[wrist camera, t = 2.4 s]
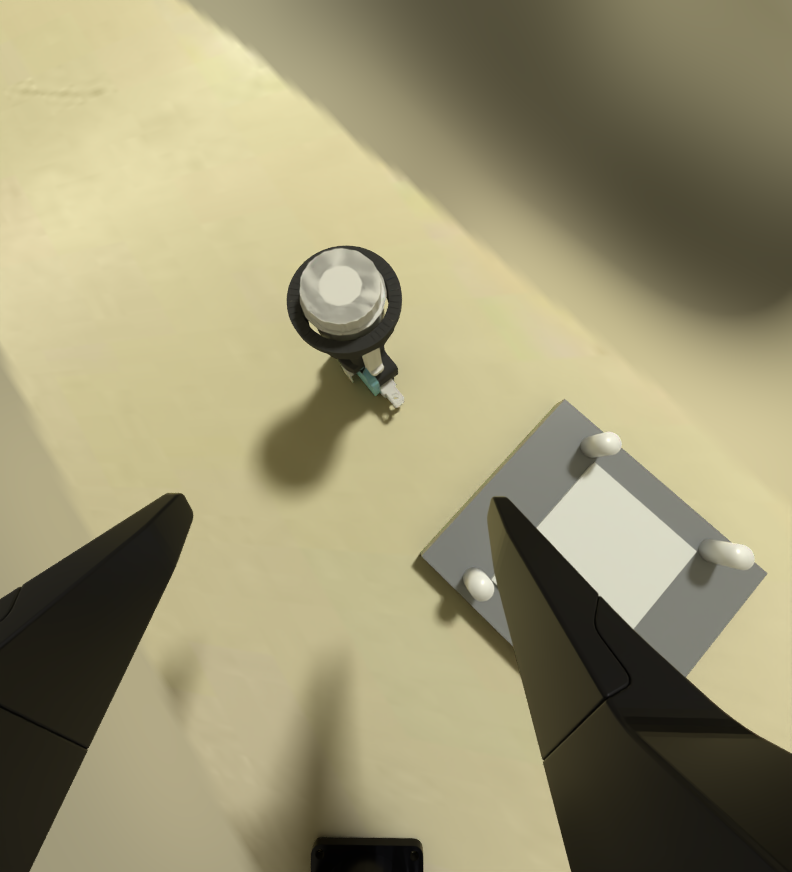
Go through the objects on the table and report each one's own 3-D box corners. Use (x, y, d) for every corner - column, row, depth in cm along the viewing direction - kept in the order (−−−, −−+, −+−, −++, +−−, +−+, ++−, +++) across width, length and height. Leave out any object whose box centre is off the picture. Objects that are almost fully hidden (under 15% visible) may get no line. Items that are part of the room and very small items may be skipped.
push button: (428, 385, 24) (446, 316, 14) (369, 431, 24) (347, 392, 14) (371, 316, 25) (351, 208, 15) (313, 360, 25) (255, 277, 15)
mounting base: (611, 740, 21) (648, 785, 18) (420, 552, 23) (423, 563, 20) (747, 568, 22) (805, 582, 19) (556, 403, 24) (580, 390, 21)
